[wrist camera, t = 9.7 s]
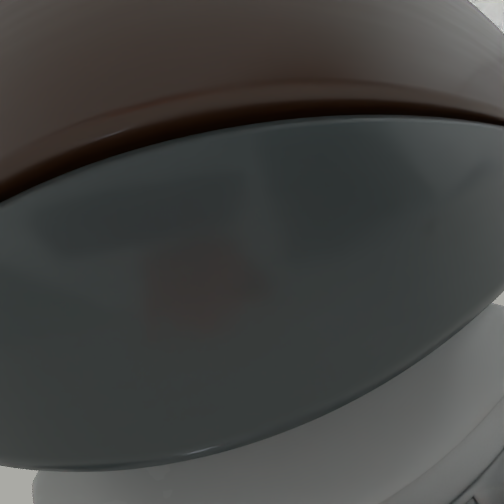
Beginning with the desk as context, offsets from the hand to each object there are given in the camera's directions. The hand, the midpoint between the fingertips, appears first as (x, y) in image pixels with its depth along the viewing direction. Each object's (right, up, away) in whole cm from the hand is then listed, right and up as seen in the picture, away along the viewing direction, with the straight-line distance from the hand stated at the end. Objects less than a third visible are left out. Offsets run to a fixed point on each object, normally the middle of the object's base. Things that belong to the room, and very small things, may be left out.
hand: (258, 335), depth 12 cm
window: (0, +3, -4) cm, 5 cm away
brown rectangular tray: (-3, +11, -3) cm, 12 cm away
